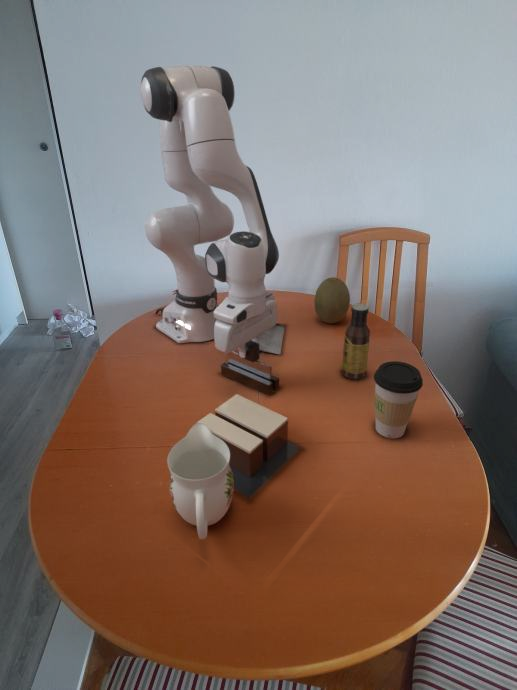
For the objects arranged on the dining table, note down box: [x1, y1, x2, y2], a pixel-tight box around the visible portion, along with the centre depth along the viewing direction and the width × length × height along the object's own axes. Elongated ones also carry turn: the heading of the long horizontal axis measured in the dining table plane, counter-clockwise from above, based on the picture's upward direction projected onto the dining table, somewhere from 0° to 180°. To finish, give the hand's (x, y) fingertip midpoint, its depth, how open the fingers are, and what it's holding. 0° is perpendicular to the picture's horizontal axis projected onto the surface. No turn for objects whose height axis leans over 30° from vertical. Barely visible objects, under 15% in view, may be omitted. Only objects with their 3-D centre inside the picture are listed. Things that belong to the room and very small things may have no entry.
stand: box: [220, 361, 280, 396], centre depth 116 cm, size 16×4×3 cm, turn 52°
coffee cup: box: [373, 360, 424, 439], centre depth 95 cm, size 10×10×15 cm
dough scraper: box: [227, 340, 272, 382], centre depth 114 cm, size 14×2×11 cm, turn 52°
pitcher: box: [166, 422, 235, 540], centre depth 76 cm, size 11×18×14 cm, turn 6°
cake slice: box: [196, 412, 263, 477], centre depth 90 cm, size 14×4×7 cm, turn 52°
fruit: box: [313, 277, 351, 325], centre depth 142 cm, size 11×11×15 cm
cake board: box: [214, 393, 301, 499], centre depth 91 cm, size 20×17×7 cm
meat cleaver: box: [251, 322, 286, 355], centre depth 142 cm, size 34×11×4 cm, turn 173°
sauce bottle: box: [341, 302, 371, 380], centre depth 113 cm, size 6×6×20 cm
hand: (248, 353), depth 112 cm, fingers open, 3 cm apart
